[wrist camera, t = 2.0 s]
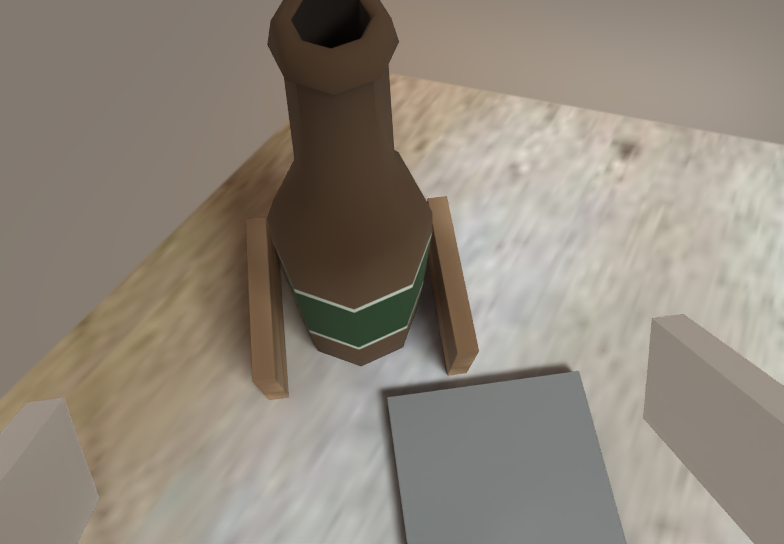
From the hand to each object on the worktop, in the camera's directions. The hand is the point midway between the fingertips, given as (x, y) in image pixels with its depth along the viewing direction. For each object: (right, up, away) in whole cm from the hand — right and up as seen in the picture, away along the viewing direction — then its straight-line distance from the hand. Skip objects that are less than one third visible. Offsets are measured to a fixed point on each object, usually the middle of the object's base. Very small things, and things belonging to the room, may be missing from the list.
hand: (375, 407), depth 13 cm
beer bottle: (-2, 0, +25) cm, 25 cm away
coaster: (+7, -10, +20) cm, 24 cm away
